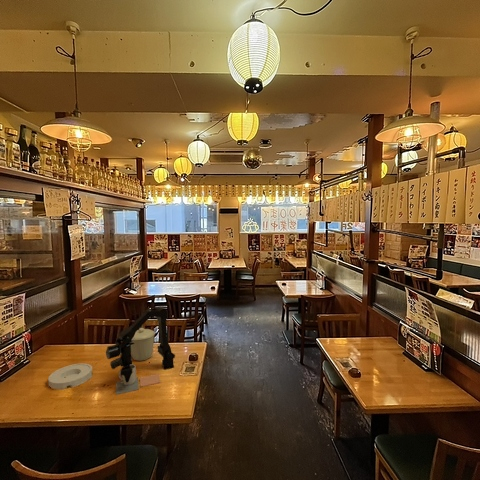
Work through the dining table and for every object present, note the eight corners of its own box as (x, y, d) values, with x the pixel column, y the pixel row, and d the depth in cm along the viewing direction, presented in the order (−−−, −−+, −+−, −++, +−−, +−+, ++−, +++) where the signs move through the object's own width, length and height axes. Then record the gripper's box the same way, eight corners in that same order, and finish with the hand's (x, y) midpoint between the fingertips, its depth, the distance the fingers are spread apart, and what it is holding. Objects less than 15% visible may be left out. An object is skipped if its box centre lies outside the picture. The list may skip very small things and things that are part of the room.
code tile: (138, 377, 174) (138, 376, 174) (138, 389, 161) (138, 389, 161) (116, 381, 169) (116, 381, 169) (115, 394, 156) (115, 394, 156)
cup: (132, 385, 164) (132, 370, 164) (116, 385, 165) (115, 370, 165) (138, 378, 171) (137, 364, 171) (122, 378, 172) (121, 364, 172)
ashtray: (74, 367, 189) (73, 361, 189) (101, 372, 182) (100, 366, 181) (39, 386, 168) (38, 379, 167) (68, 393, 160) (67, 386, 160)
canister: (148, 349, 213) (146, 321, 212) (160, 356, 200) (159, 327, 199) (124, 357, 200) (122, 328, 199) (136, 366, 187) (134, 335, 186)
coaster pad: (158, 374, 176) (158, 373, 176) (160, 382, 167) (160, 382, 167) (139, 378, 172) (139, 377, 172) (140, 387, 163) (140, 386, 163)
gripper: (111, 349, 172) (113, 374, 173) (110, 363, 155) (111, 390, 156) (131, 346, 176) (132, 370, 177) (131, 358, 159) (133, 386, 160)
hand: (127, 379), depth 168 cm, fingers closed on cup, 7 cm apart
